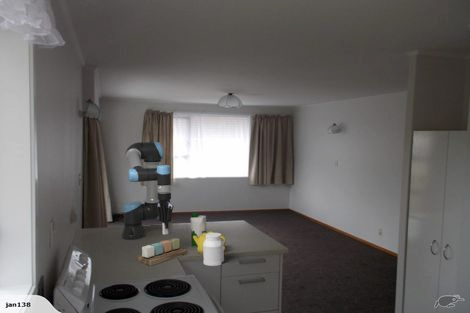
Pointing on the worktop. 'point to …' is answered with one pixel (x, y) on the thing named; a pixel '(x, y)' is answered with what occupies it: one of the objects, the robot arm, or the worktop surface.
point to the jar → (213, 249)
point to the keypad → (160, 257)
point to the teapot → (201, 240)
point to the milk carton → (197, 226)
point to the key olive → (175, 243)
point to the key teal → (157, 248)
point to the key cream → (148, 251)
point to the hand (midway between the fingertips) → (165, 233)
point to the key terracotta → (166, 246)
